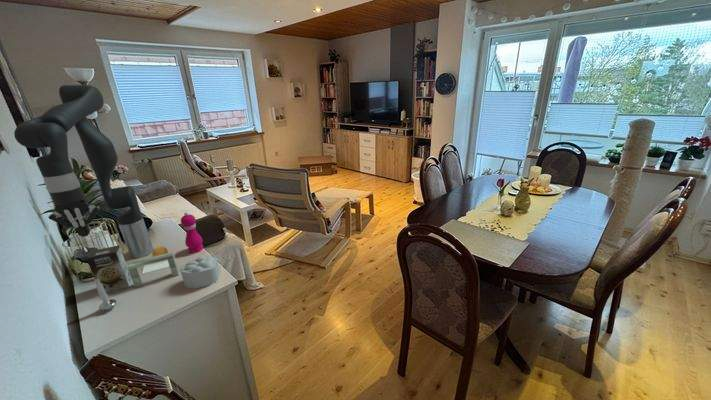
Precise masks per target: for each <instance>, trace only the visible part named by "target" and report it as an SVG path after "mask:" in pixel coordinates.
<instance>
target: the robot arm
mask: <svg viewBox="0 0 711 400" xmlns="http://www.w3.org/2000/svg"><path fill="white" fill-rule="evenodd" d="M58 94H59V98H60V101H61V104H57V105H54V106H53V107H51V108H49V109H48V110H47V111H45V112H44V113H43V114H42V115H40V116H37V117H34V118H31V119H28V120H26V121H23V122H21V123H20V124H19V125H17V126H16V128H15V129H14V132H13V135H14V139H15V140H16V141H17V143H18V144H19V145H21V146H23V147H24V148H25V147H26V148H28V149H41V148H49V149H50V152H49V153H48V154H45V155H42V156H39V157H37V158H36V160H35V161H36V165H37V167H38V169H39V171H40V173H41V174H40V175H41V176H42V178H43V181H44V184H45V185H44V186H45V188H46V191H47V192H48V194H49V196H50V198H51V200H52V203H53V205H54V212H52V213H51V214H49V216H48V217H47V218H48V219H50V221H53V222H56V223H57V224H59V225H61V226H64V227H65V228H74V229H75V231H76V232H77V235H78V236H79V237H80V236H81V238H84V237H88V236H89V235H90V233H91V229H90V227H89V224H91V223H92V222H93V220H94V219H95V217H96V215H97V214H98V212H99V210H100V209H101V207H100V205H93V204H91V203H90V202H89V201H88V200H87V197H86V195H85V193H84V190H83V188H82V186H81V183H80V180H79V179H78V177H77V175H76V174H75V172H74V168H73V167H72V165H71V161H70V159H69V150H68V149H69V148H68V145H69V144H68V135H67V133H68V132H69V131H71V129H73V127H75V130H76V132H77V134H78V136H79V139H80V142H81V144H82V146H83V149H84V152H85V155H86V156H87V159H88V161H89V164H90V166H91V168H92V171H93V173H94V175H95V176H96V180H97V182H98V185H99V189H100V191H101V195H102V198H103V200H104V203H105V205H106V207H107V208H108V209H109V210H111V211H112V210H120V209H124V208H129V209H128V210H127V211H125V212H123V213H121V214H119V215H118V216H117V217H116V222H117V224H118V227H119V230H120V232H121V235H122V238H123V240H124V242H125V243H124V244H125V245H126V248H127V251H128V254H129V255H130V258H132V259H133V258H134V259H135V258H136V259H137V258H142V257H146V256H148V255H150V254H152V252H153V250H154V247H153V244H152V241H151V238H150V235H149V232H148V229H147V226H146V224H145V220H144V217H143V214H142V212H141V209H140V205H139V202H138V198H137V193H136V191H135V189H134V187H132V186H130V185H127V186H121V187H114V188H112V187H111V179H112V175H113V173H114V170H115V169H116V166H117V164H118V161H119V160H118V157H119V156H118V155H117V152H116V149H115V146H114V143H113V142H112V140H111V139H109V137H107V135H105V134H104V133H103V132H101V131H100V130H99V129H97V128H96V127H95V126H94V125H93V124H92V123H91V122H90V121H89V119H88V116H90V115H92V114H93V113H94V114H95V113H96V112H98V111H99V110H101V109H102V108H103V107H104V97H103V95H102V92H101V91H100V90H99V88H97V87H95V86H93V85H88V84H63V85H61V86H60V87H59V89H58ZM88 210H89V212H90V214H89V216H88V218H87V217H86V213H87V212H88Z"/></svg>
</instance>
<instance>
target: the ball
mask: <svg viewBox="0 0 711 400" xmlns="http://www.w3.org/2000/svg"><path fill="white" fill-rule="evenodd" d="M167 253H169V250H168V248H167V247H165V246H160V245H159V246H157V247H155V248H153V251H152V252H151V254H152V257H155V256H159V255H163V254H167Z"/></svg>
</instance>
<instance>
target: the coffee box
mask: <svg viewBox="0 0 711 400" xmlns="http://www.w3.org/2000/svg"><path fill="white" fill-rule="evenodd" d="M85 260H86V261H87V264H88V266H89V268H90V271H91V273H92V275H93V277H94V280H95V279H99V280H100V282H101V284H102V285H103V286H104V289H105V291H106V293H109V292H112V291H116V290H121V289H123V288H128V287H129V286H130V285H131V281H132V278H131V276H130V273H129V271H128V268H127V266H128V264H127V261H126V260H125V257H124V255H123V252H122V249H121V246H120V244H119V245H118V244H117V245H114V246H110V247H104V248H100V249H94V250H90V252H89V253H88V254H87V256H86V258H85Z"/></svg>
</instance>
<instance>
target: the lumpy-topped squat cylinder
mask: <svg viewBox="0 0 711 400" xmlns="http://www.w3.org/2000/svg"><path fill="white" fill-rule="evenodd" d="M179 271H180V275H181V277H182V280H183V284H184V286H185V287H186V288H189V289H201V288H205V286H206V287H209V286H208V285H210V286H212V285H211V284H213V283H215V282H216V281H218V279H219V280H220V275H221V270H220V265H219V262H218V258H217V257H216V256H215V257H214V256H209V257H208V256H207V257H205V256H198V257H197V258H195V259H194V260H190V261H188V262H187V263H186V264H184V265H182V266H181V268H180V269H179ZM219 274H220V275H219ZM218 282H219V281H218ZM215 284H216V283H215ZM213 285H214V284H213ZM200 287H201V288H200Z"/></svg>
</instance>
